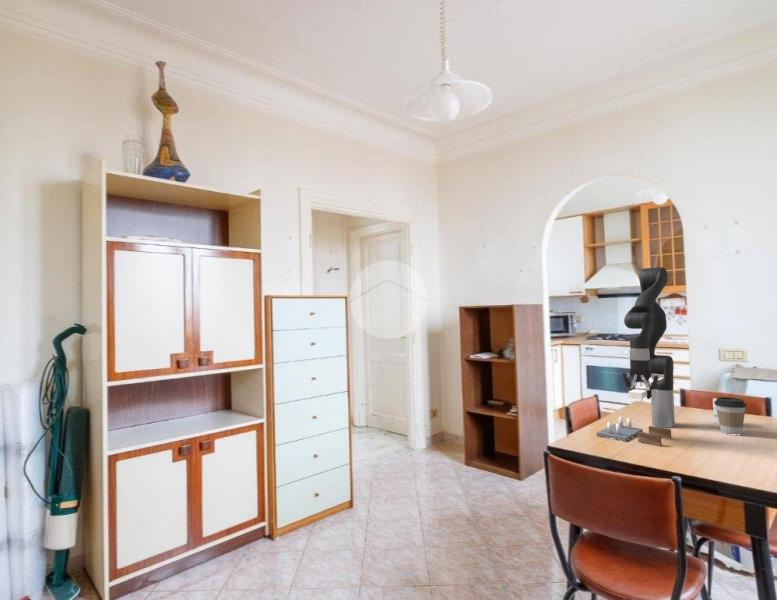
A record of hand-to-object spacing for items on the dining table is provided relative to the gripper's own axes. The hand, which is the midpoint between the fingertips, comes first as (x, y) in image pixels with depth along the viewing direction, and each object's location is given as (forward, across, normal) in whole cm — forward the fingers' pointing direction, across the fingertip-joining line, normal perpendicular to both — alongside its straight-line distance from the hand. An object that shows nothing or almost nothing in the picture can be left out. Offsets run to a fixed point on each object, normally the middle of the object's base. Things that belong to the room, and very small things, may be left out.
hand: (641, 397), depth 188 cm
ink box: (+18, -21, -48) cm, 56 cm away
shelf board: (-1, 0, 0) cm, 1 cm away
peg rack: (+17, +9, 0) cm, 20 cm away
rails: (+17, -5, 0) cm, 18 cm away
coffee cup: (+18, -25, -33) cm, 45 cm away
